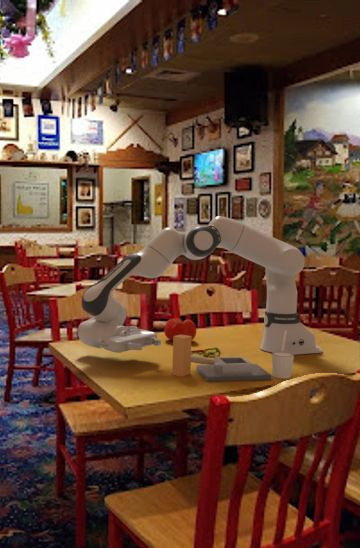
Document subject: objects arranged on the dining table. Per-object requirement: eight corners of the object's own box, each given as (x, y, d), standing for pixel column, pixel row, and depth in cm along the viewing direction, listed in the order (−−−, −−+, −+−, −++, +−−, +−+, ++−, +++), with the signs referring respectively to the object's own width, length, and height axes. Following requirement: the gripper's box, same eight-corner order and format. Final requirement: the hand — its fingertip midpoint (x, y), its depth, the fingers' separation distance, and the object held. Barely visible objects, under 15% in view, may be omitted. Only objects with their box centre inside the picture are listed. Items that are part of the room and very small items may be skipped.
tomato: (156, 341, 247) (157, 319, 246) (175, 336, 257) (175, 315, 256) (184, 346, 240) (185, 323, 239) (202, 340, 250) (202, 319, 249)
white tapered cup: (268, 373, 203) (269, 351, 203) (289, 373, 204) (290, 351, 203) (273, 378, 197) (274, 356, 196) (295, 379, 197) (296, 356, 196)
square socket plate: (256, 368, 209) (256, 354, 208) (271, 379, 195) (271, 365, 195) (196, 369, 205) (196, 355, 204) (207, 381, 191) (207, 366, 191)
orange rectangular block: (179, 372, 201) (181, 334, 200) (190, 374, 199) (191, 336, 198) (172, 374, 198) (173, 336, 197) (182, 376, 196) (184, 338, 194)
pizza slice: (172, 360, 219) (173, 352, 219) (200, 349, 237) (200, 341, 237) (213, 367, 212) (214, 358, 211) (239, 355, 230) (239, 347, 229)
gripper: (96, 333, 204) (129, 340, 196) (137, 325, 221) (169, 331, 213) (95, 353, 205) (128, 360, 197) (136, 343, 221) (168, 350, 213)
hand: (150, 345), depth 205 cm, fingers open, 8 cm apart
